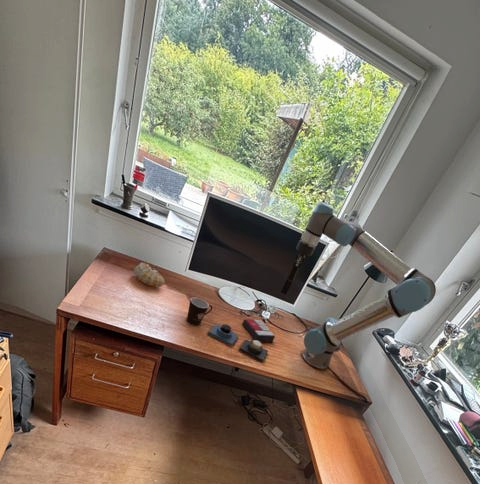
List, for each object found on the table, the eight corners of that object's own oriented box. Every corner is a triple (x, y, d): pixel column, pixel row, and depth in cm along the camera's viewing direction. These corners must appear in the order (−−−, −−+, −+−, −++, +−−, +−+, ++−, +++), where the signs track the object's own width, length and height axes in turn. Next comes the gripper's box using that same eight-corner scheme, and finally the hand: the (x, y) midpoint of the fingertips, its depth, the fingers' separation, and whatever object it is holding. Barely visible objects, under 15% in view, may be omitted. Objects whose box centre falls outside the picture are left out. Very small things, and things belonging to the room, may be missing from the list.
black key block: (266, 353, 164) (269, 347, 162) (261, 362, 157) (265, 356, 154) (244, 341, 164) (247, 335, 162) (238, 350, 156) (241, 344, 154)
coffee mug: (185, 324, 155) (191, 305, 149) (183, 314, 161) (189, 295, 154) (209, 330, 159) (216, 311, 153) (207, 320, 165) (213, 302, 159)
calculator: (261, 319, 180) (276, 335, 171) (258, 326, 182) (272, 342, 174) (244, 317, 174) (258, 334, 165) (241, 325, 176) (255, 341, 168)
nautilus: (133, 267, 176) (161, 277, 182) (130, 284, 160) (162, 294, 166) (136, 252, 171) (166, 263, 177) (134, 268, 156) (166, 279, 162)
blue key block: (237, 337, 164) (240, 331, 162) (231, 346, 156) (233, 340, 154) (215, 326, 164) (217, 320, 162) (207, 334, 156) (210, 328, 154)
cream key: (261, 346, 160) (262, 343, 159) (258, 350, 157) (260, 347, 155) (252, 342, 160) (254, 338, 159) (250, 346, 157) (252, 342, 155)
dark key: (230, 331, 160) (232, 327, 159) (227, 334, 157) (229, 331, 155) (222, 326, 160) (224, 323, 159) (219, 330, 156) (220, 326, 155)
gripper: (302, 236, 151) (279, 285, 165) (298, 241, 141) (273, 293, 155) (317, 244, 151) (292, 292, 166) (314, 250, 141) (288, 301, 155)
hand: (283, 293), depth 160 cm, fingers closed
